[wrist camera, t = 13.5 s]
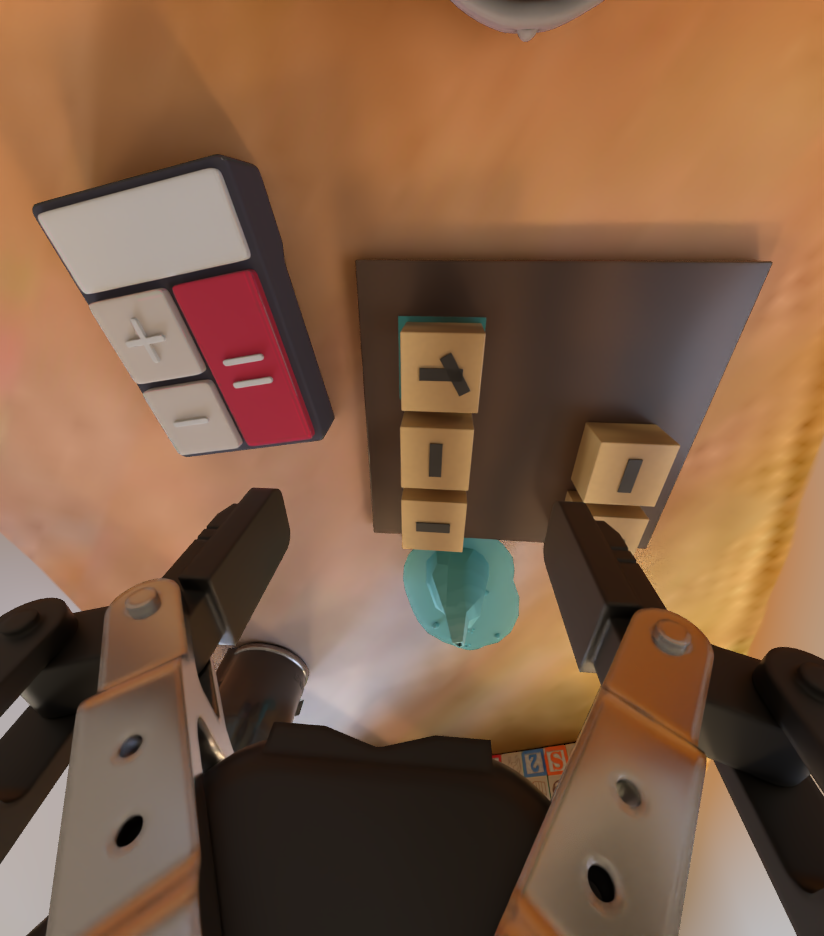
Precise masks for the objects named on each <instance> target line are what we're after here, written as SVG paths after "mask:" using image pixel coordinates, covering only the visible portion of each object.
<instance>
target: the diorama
mask: <svg viewBox="0 0 824 936" xmlns="http://www.w3.org/2000/svg"><path fill="white" fill-rule="evenodd" d="M513 577H514V564H513V557H512V556H511V554H510V553H509V552H508V550H507V549H506V548H505V546H504V545H503V544H502V543H501V542H500V541H498V540H493V539H476V538H464V541H463V551H462V552H450V551H434V550H418V549H413V550H412V551H411V552H410V554H409V555H408V557H407V560H406V562H405V565H404V575H403V580H404V586H405V591H406V594H407V597H408V599H409V602H410V605H411V607H412V610H413V612H414V614H415V616H416V618H417V620H418V622H419V623H420V624H421V625H422V627H423V628H424V629H425V630H426V631H427V633H429V634H431V635H432V636H434V637H436V638H438V639H439V640H441V641H443V642H445V643H448V644H451V645H454V646H457V647H458V648H462V649H465V650H476V649H479V648H481V647H483V646H486V645H490V644H494V643H498V642H499V641H501V640H502V639H503V638H504V637H505V636H506V635H508V634H509V633H510V632H511V631H512V629H513V627H514V624H515V622H516V620H517V618H518V616H519V595H518V593H517V590H516V587H515V584H514V581H513Z"/></svg>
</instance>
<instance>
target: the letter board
mask: <svg viewBox="0 0 824 936" xmlns="http://www.w3.org/2000/svg"><path fill="white" fill-rule="evenodd" d="M355 264H356V278H357V293H358V308H359V322H360V337H361V351H362V366H363V381H364V395H365V410H366V424H367V439H368V454H369V468H370V483H371V497H372V512H373V527H374V532H376V533H393V534H402V548H403V549H418V550H434V551H450V552H462V551H463V541H464V538H476V539H493V540H510V541H526V542H543V543H544V541H545V536H546V532H547V528H548V524H549V519H550V515H551V511H552V507H553V504H554V502H555V501H571V502H584V503H585V504H586V505H587V507H588V508H589V510H590V512H591V514H592V515H593V517H594V519H595V520H598V521H605V522H606V523H607V524H609V525H610V526H611V527H612V528H613V529H615V530H616V531H617V532H618V533H619V534H620V535H621V537H622V538H623V540H624V542H625V543H626V545H627V546H628V550H629V551H631V553H632V554H633V556H634V554H635V552H636V550H637V548H643V549H646V547H647V545H648V543H649V540H650V538H651V536H652V534H653V531H654V529H655V527H656V525H657V522H658V520H659V518H660V516H661V513H662V511H663V509H664V507H665V504H666V502H667V500H668V498H669V495H670V493H671V491H672V489H673V486H674V484H675V482H676V480H677V477H678V475H679V473H680V471H681V468H682V466H683V464H684V462H685V459H686V457H687V455H688V453H689V450H690V448H691V446H692V444H693V441H694V439H695V437H696V435H697V432H698V430H699V428H700V426H701V423H702V421H703V419H704V417H705V414H706V412H707V410H708V407H709V405H710V403H711V401H712V398H713V396H714V394H715V392H716V389H717V387H718V385H719V383H720V380H721V378H722V376H723V374H724V371H725V369H726V367H727V365H728V362H729V360H730V358H731V356H732V353H733V351H734V349H735V347H736V344H737V342H738V340H739V338H740V335H741V333H742V331H743V329H744V326H745V324H746V322H747V320H748V317H749V315H750V313H751V311H752V308H753V306H754V304H755V302H756V299H757V297H758V295H759V293H760V290H761V288H762V286H763V284H764V281H765V279H766V277H767V274H768V272H769V270H770V268H771V265H772V262H771V261H631V260H365V259H360V260H356V261H355ZM406 322H443V323H481V324H482V326H483V329H484V331H485V333H486V338H485V347H484V357H483V367H482V377H481V387H480V397H479V407H478V413H455V412H426V411H402V410H401V351H400V332H401V330H402V329H403V327H404V325H405V323H406Z"/></svg>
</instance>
